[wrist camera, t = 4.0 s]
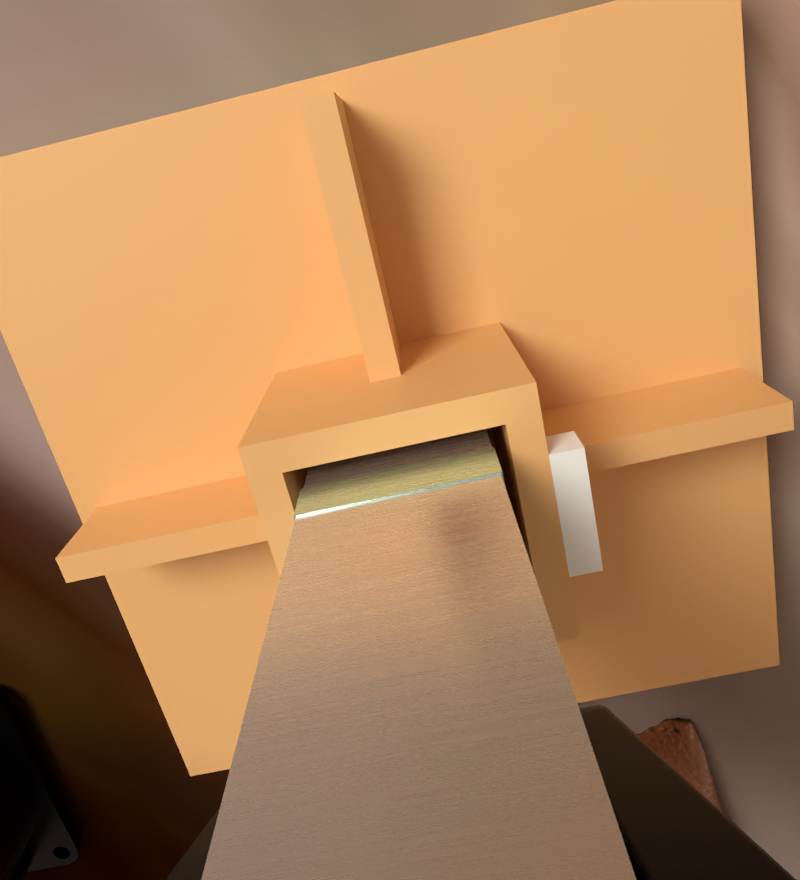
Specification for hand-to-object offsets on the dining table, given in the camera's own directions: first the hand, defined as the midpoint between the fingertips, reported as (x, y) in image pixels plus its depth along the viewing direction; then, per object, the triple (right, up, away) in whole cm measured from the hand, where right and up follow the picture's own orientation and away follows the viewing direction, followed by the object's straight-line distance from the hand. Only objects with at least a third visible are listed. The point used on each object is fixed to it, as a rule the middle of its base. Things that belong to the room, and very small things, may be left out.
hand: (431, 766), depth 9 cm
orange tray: (0, +4, +10) cm, 11 cm away
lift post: (0, +2, +6) cm, 6 cm away
